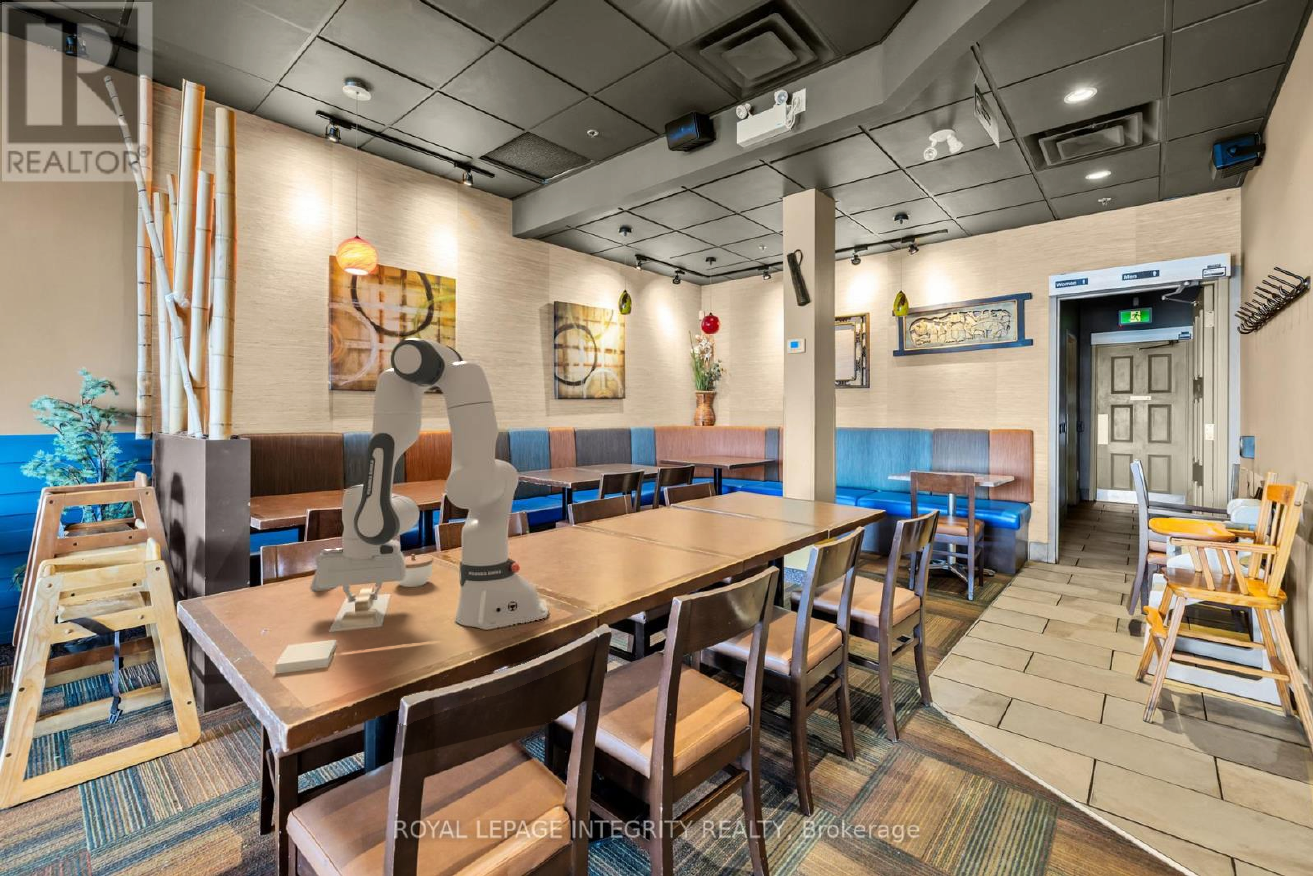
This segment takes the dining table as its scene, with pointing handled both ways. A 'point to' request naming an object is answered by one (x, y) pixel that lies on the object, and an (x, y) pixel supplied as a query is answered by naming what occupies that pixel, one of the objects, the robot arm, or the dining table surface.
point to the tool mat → (376, 604)
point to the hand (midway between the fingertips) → (363, 600)
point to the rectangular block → (306, 656)
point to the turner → (360, 610)
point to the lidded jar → (417, 570)
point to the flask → (315, 586)
